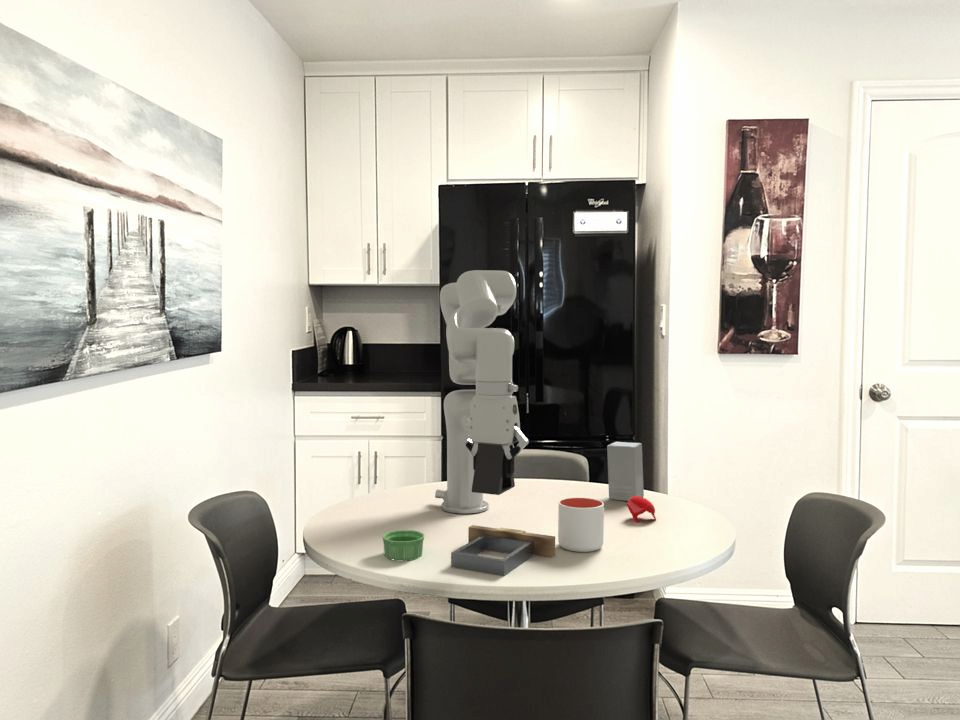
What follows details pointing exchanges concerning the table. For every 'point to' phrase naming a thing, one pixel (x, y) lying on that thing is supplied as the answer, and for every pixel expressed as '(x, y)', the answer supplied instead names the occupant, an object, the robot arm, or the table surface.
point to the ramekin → (403, 544)
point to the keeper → (472, 561)
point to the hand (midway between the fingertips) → (493, 474)
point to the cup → (581, 524)
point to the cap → (640, 507)
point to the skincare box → (625, 470)
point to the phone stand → (491, 471)
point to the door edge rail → (542, 543)
